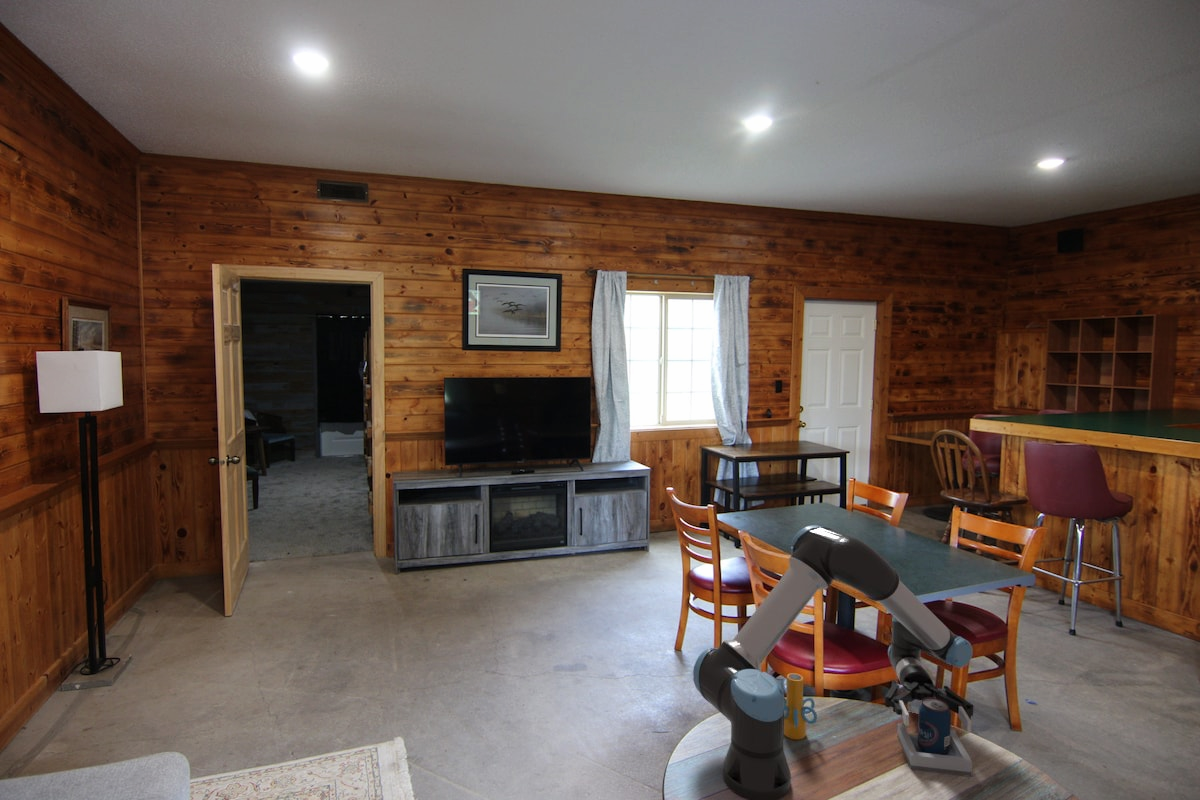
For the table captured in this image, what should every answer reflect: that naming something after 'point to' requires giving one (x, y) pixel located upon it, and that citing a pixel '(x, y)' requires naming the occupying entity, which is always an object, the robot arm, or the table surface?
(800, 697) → the yellow hollow tube
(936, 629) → the robot arm
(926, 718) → the soda can
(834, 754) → the table surface
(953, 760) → the dock
